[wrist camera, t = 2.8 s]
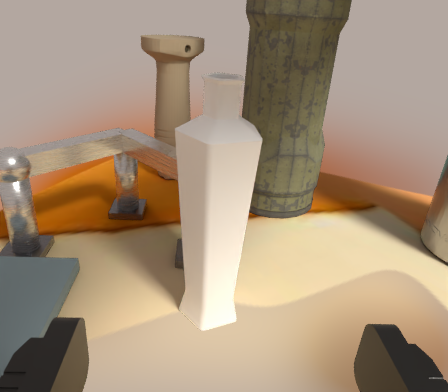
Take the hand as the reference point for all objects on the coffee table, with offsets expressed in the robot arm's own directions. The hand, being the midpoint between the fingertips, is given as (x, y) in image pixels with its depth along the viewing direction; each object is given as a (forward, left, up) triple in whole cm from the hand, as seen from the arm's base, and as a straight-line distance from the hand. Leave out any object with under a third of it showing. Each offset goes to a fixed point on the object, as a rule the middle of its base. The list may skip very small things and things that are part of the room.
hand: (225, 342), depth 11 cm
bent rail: (+7, -21, -9) cm, 24 cm away
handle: (+4, -33, -10) cm, 35 cm away
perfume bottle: (0, -11, -10) cm, 15 cm away
